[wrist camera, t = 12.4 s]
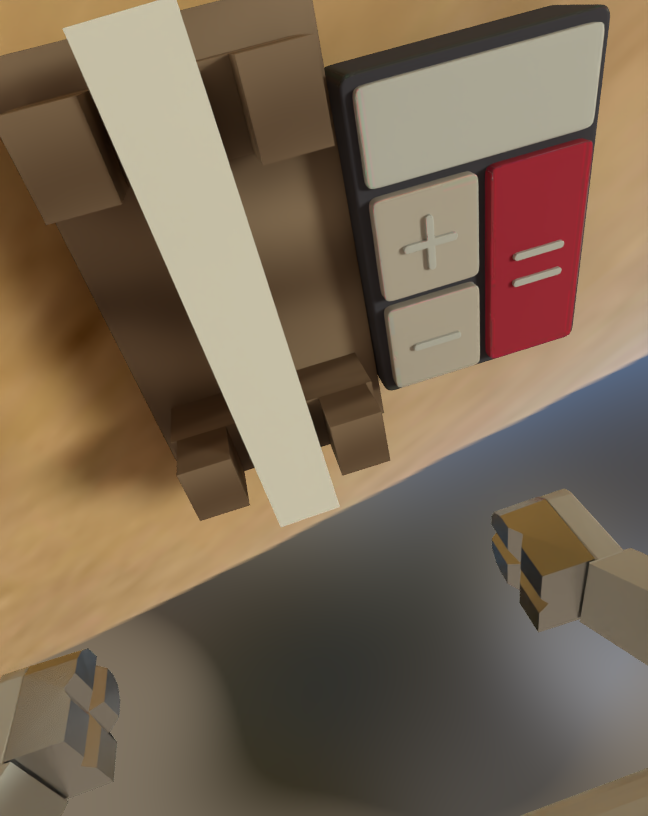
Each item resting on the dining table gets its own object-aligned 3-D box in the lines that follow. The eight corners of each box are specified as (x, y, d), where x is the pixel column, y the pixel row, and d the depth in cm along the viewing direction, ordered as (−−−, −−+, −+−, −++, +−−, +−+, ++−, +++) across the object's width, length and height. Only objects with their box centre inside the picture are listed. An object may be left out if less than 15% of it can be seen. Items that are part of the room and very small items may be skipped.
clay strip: (80, 31, 16) (62, 28, 13) (175, 3, 16) (174, -6, 14) (272, 485, 28) (281, 527, 25) (325, 467, 28) (339, 506, 25)
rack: (-14, 61, 19) (-94, 66, 14) (300, -18, 20) (348, -45, 14) (183, 458, 31) (184, 549, 25) (376, 399, 32) (418, 474, 26)
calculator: (390, 402, 28) (342, 78, 18) (366, 360, 31) (315, 68, 22) (581, 342, 29) (628, 0, 19) (537, 307, 32) (559, 2, 22)
